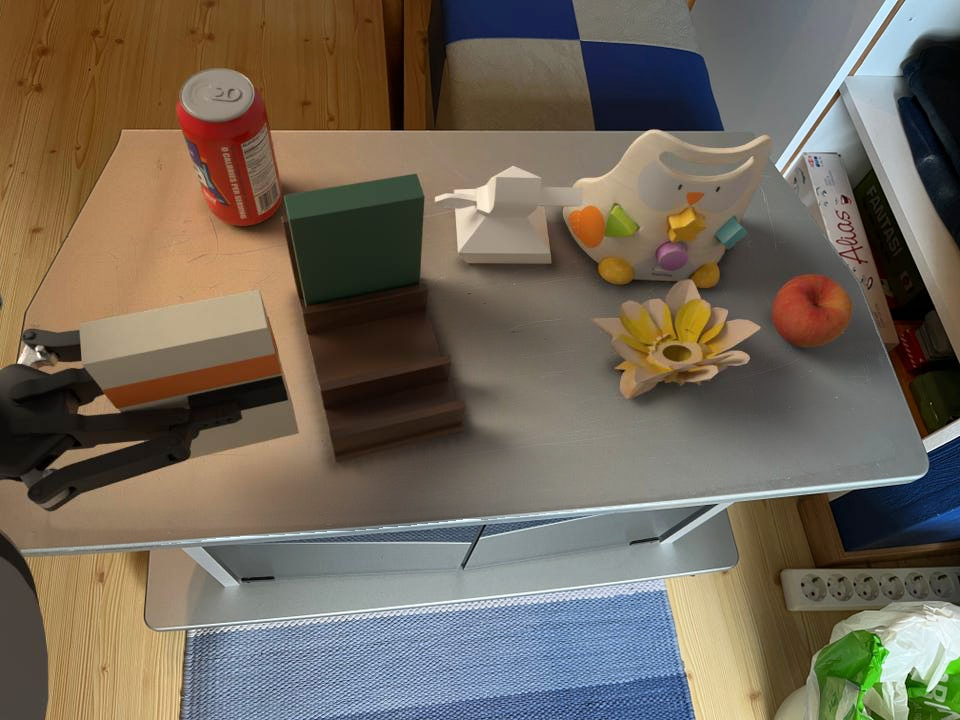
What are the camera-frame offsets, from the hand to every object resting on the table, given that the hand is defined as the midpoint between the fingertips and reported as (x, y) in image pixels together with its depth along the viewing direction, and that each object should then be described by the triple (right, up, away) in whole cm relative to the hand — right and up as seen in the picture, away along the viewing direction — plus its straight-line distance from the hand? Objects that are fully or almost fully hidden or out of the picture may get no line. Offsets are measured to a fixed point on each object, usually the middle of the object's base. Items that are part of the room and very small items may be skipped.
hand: (279, 366), depth 55 cm
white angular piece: (+17, +13, +26) cm, 33 cm away
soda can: (-10, +17, +25) cm, 32 cm away
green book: (+3, +6, +19) cm, 20 cm away
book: (-6, -6, +7) cm, 11 cm away
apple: (+48, +4, +24) cm, 54 cm away
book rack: (+5, 0, +17) cm, 18 cm away
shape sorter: (+34, +13, +27) cm, 45 cm away
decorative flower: (+34, +1, +21) cm, 40 cm away
